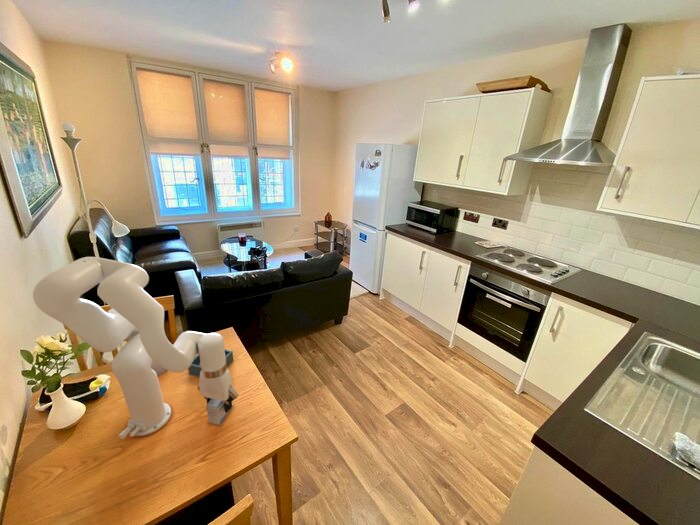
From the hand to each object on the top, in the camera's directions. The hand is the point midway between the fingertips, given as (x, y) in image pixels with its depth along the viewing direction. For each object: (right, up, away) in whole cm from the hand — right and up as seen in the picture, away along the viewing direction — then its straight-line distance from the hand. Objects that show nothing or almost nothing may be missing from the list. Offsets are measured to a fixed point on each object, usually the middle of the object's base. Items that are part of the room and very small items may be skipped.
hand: (219, 406), depth 102 cm
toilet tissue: (-36, +7, +21) cm, 42 cm away
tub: (-14, +6, +23) cm, 27 cm away
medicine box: (0, -4, +2) cm, 4 cm away
